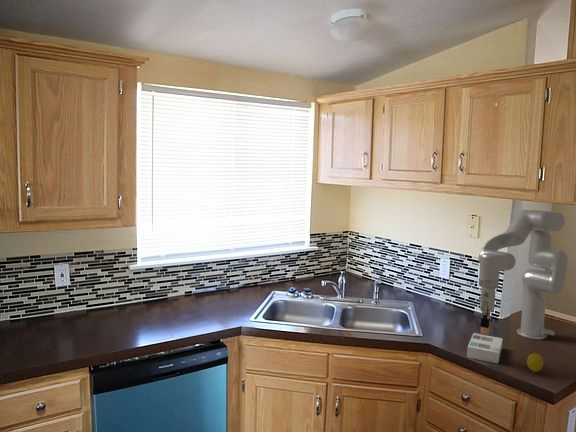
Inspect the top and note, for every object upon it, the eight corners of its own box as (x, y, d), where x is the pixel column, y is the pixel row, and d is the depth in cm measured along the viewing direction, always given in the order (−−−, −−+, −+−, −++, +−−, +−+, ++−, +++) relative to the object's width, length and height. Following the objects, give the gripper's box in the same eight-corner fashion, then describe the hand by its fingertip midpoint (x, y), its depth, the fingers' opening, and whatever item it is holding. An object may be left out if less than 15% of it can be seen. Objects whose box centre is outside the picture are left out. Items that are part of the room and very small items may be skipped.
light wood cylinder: (489, 332, 191) (490, 311, 190) (488, 334, 189) (490, 313, 188) (481, 331, 193) (482, 310, 192) (480, 333, 190) (481, 312, 189)
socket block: (501, 348, 201) (502, 338, 200) (498, 363, 185) (498, 352, 185) (472, 342, 207) (473, 332, 206) (466, 357, 191) (467, 346, 191)
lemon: (523, 368, 181) (525, 349, 180) (538, 369, 181) (540, 350, 180) (529, 375, 176) (531, 355, 175) (544, 375, 175) (546, 356, 174)
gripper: (496, 288, 179) (492, 333, 182) (500, 280, 194) (496, 322, 196) (476, 286, 183) (472, 330, 185) (481, 277, 197) (478, 318, 199)
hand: (485, 325), depth 190 cm, fingers closed on light wood cylinder, 3 cm apart
